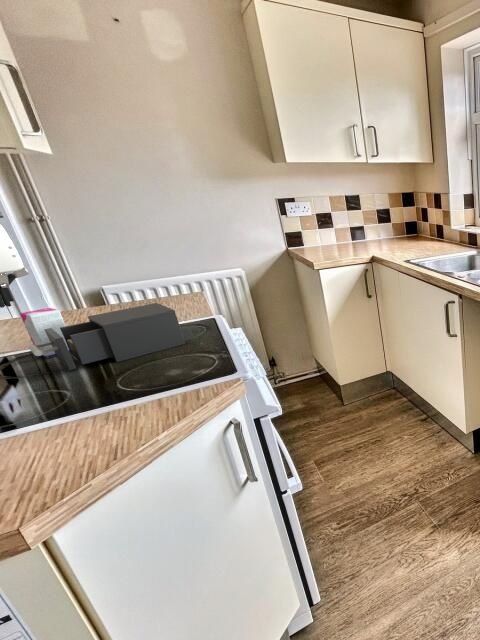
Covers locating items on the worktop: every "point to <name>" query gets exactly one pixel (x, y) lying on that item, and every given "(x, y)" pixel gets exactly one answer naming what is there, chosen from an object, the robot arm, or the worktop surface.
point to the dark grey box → (77, 344)
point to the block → (72, 348)
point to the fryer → (140, 330)
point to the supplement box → (43, 326)
